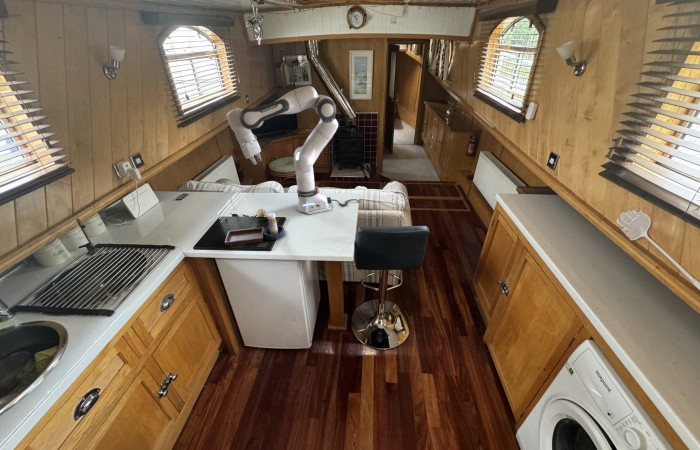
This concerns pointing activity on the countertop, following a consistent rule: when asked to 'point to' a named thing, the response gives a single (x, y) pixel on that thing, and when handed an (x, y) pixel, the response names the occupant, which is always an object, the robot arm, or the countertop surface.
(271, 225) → the sprinkles bottle
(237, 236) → the tray
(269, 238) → the enamel pot
